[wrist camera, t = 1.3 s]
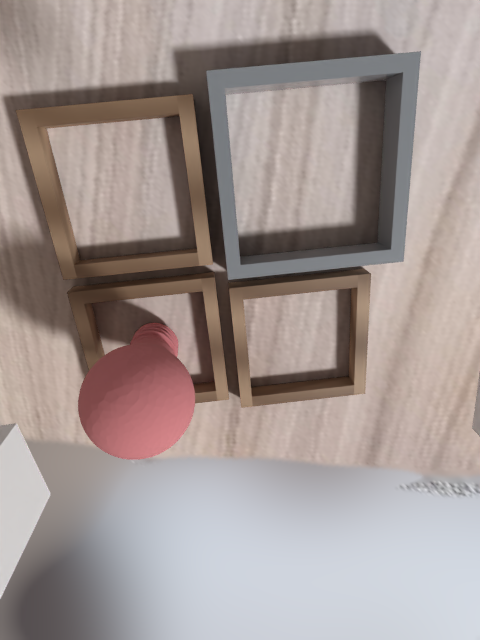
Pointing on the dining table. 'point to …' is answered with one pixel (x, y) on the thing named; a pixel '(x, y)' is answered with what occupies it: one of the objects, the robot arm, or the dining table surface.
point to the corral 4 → (296, 285)
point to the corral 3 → (394, 169)
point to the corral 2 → (150, 288)
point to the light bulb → (138, 396)
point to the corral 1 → (53, 198)
